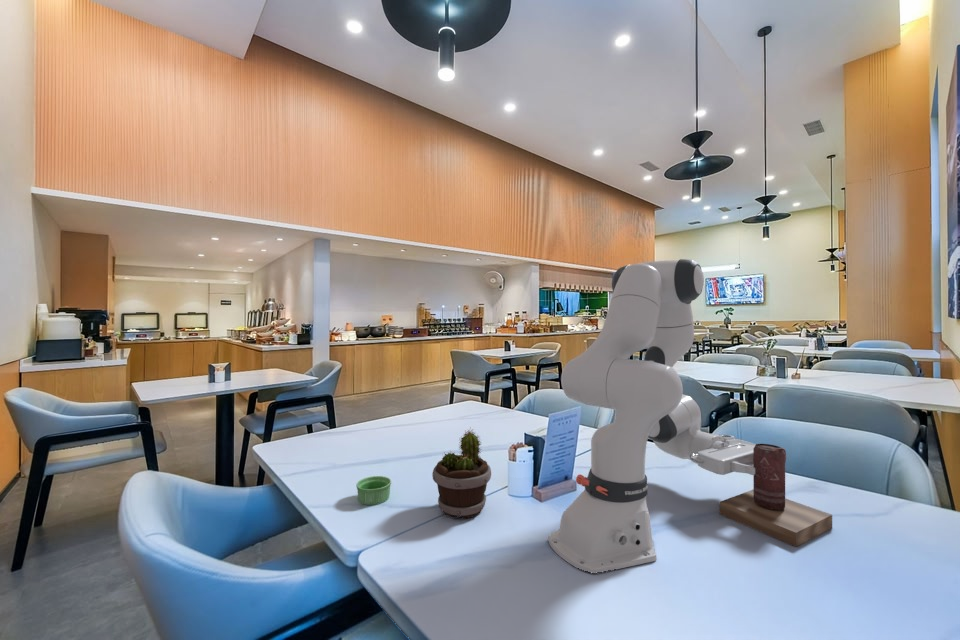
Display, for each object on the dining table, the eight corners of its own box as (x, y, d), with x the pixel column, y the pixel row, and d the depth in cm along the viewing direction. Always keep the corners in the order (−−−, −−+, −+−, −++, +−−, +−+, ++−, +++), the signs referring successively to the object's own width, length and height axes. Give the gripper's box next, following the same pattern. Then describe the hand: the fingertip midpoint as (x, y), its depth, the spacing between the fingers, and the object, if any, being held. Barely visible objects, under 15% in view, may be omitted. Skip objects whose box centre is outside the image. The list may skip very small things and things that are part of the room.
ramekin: (398, 498, 107) (397, 482, 107) (368, 510, 101) (368, 492, 101) (379, 488, 113) (379, 473, 113) (350, 499, 107) (349, 482, 107)
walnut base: (796, 547, 83) (796, 532, 83) (719, 514, 97) (719, 501, 97) (832, 527, 91) (832, 514, 91) (756, 499, 105) (756, 488, 105)
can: (792, 512, 92) (792, 451, 92) (761, 510, 93) (761, 449, 93) (778, 500, 98) (778, 443, 98) (749, 498, 99) (749, 442, 99)
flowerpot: (463, 532, 90) (463, 443, 90) (420, 510, 100) (419, 430, 100) (504, 509, 100) (504, 429, 100) (461, 491, 111) (461, 419, 111)
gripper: (685, 445, 103) (741, 462, 90) (732, 433, 112) (789, 447, 100) (685, 469, 103) (741, 489, 90) (732, 456, 112) (789, 472, 100)
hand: (767, 467), depth 95 cm, fingers open, 8 cm apart
